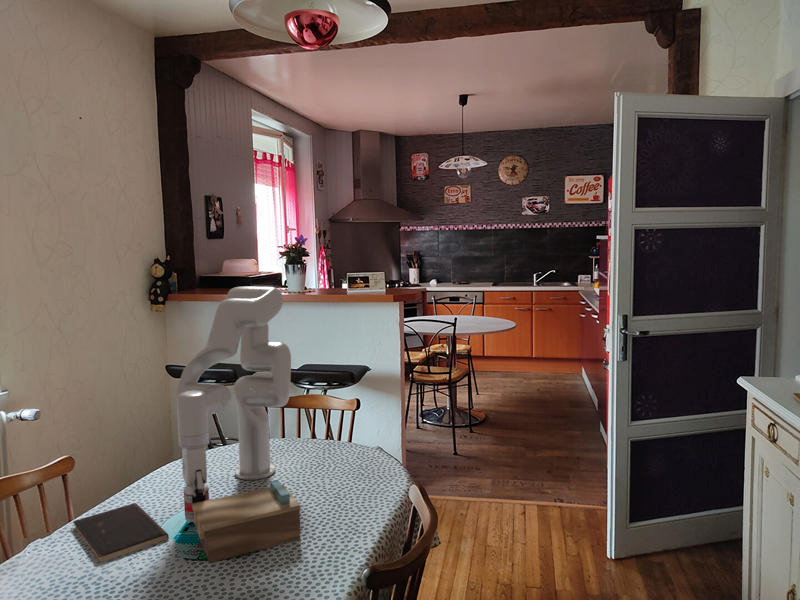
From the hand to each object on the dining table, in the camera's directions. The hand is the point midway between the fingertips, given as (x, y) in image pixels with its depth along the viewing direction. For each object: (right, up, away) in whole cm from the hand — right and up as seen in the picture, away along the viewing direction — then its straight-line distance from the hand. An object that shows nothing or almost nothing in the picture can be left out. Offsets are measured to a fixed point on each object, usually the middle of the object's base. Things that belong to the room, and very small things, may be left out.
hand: (197, 504), depth 152 cm
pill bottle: (0, -4, 0) cm, 4 cm away
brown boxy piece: (+16, -6, -8) cm, 19 cm away
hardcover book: (-18, -7, -5) cm, 20 cm away
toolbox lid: (+15, -1, -9) cm, 18 cm away
